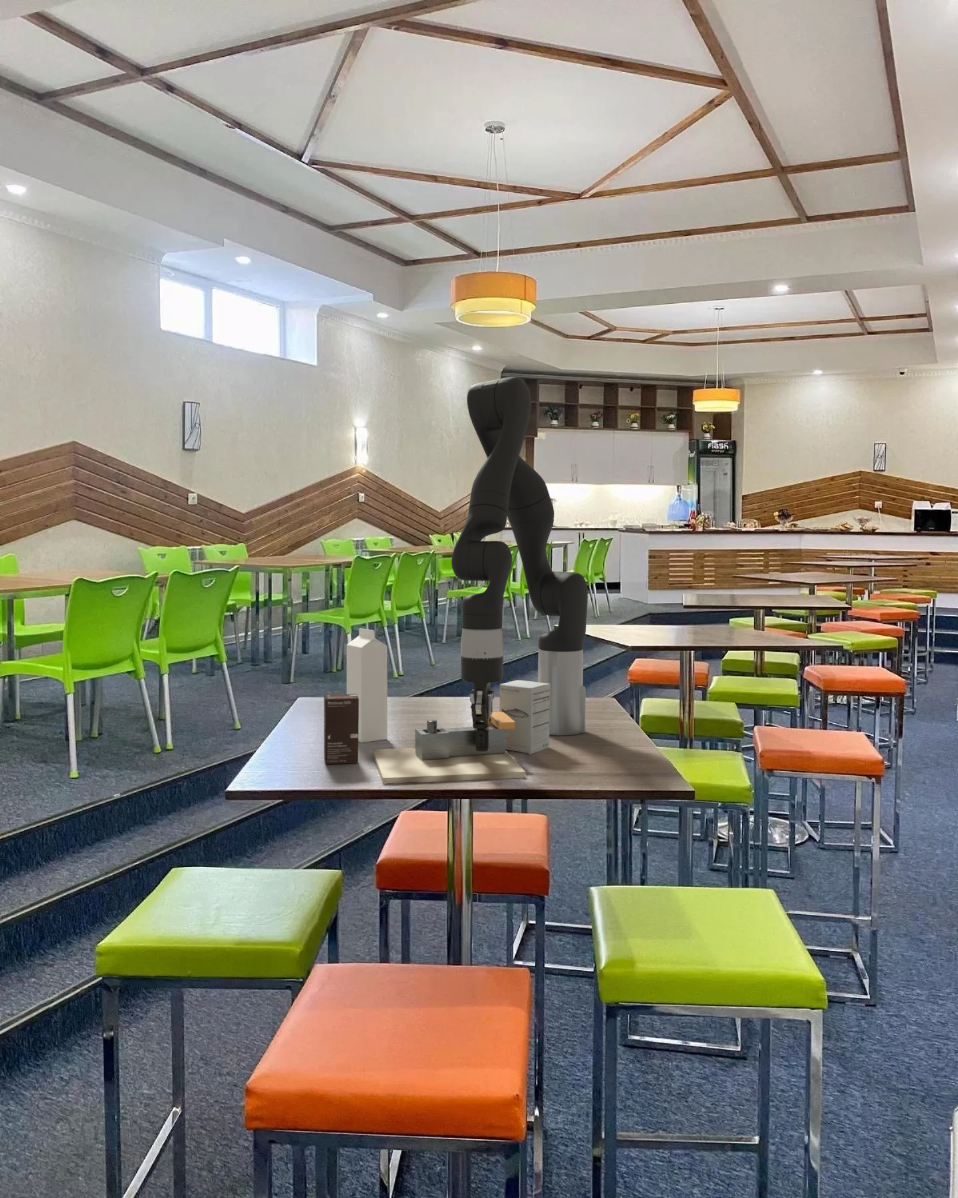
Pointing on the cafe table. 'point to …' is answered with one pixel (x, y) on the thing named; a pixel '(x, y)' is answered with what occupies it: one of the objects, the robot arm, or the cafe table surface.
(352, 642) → the milk
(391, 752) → the board
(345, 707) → the box
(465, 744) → the link
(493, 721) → the block
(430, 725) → the pintle
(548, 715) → the supplement box
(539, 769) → the cafe table surface
